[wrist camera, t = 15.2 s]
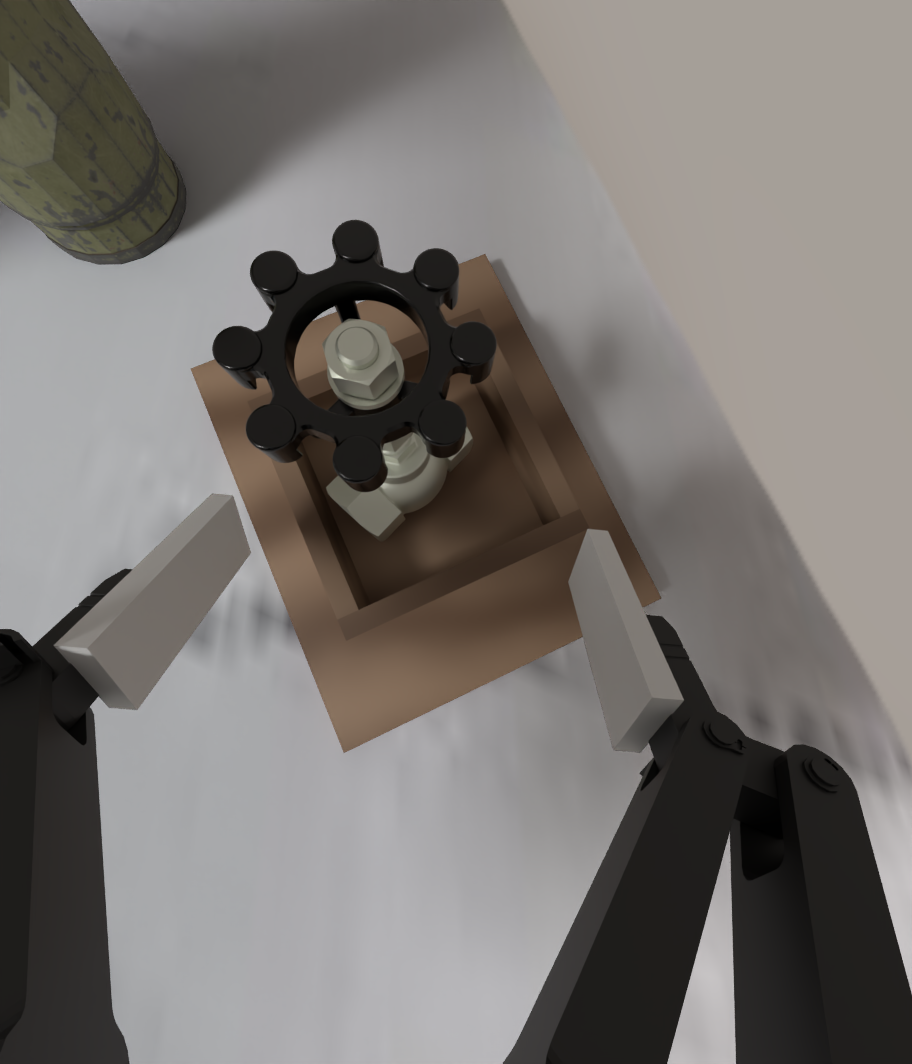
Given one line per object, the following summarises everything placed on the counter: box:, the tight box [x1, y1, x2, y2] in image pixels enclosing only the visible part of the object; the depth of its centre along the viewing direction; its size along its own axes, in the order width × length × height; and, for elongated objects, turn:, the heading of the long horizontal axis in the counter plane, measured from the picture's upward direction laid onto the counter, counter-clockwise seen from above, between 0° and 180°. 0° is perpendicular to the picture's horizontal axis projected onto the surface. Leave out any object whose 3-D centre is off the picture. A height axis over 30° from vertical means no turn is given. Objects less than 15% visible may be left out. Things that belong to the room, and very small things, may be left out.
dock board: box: [191, 254, 661, 753], centre depth 20 cm, size 22×18×4 cm
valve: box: [212, 220, 497, 541], centre depth 15 cm, size 7×7×12 cm
